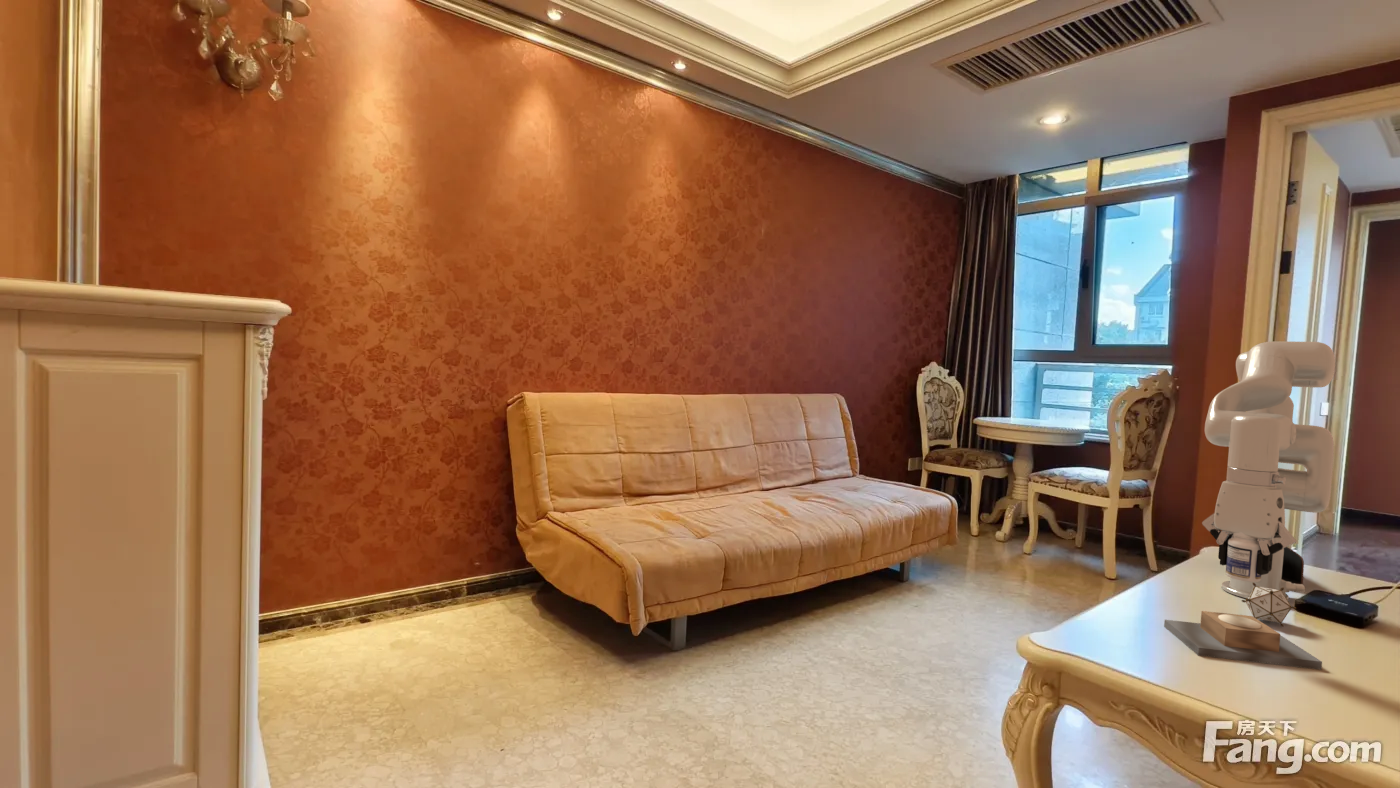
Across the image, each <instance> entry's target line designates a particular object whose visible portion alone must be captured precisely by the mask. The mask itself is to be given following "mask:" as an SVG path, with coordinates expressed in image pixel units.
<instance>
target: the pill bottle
mask: <svg viewBox="0 0 1400 788" xmlns="http://www.w3.org/2000/svg"><path fill="white" fill-rule="evenodd" d="M1233 535H1234V538H1230V539H1229V540H1228V549H1227V562H1226V565H1225V575H1226V576H1227V577H1229V578H1230V577H1231V578H1233V579H1237V580H1241V581H1246V582H1259V581H1260V580H1261V575H1259V574H1258V573H1257V561H1258V554H1261V548H1260V545H1259V541H1258V538H1253V537H1250V536H1247V535H1245V534H1244V533H1242V532H1239V533H1233Z"/></svg>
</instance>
